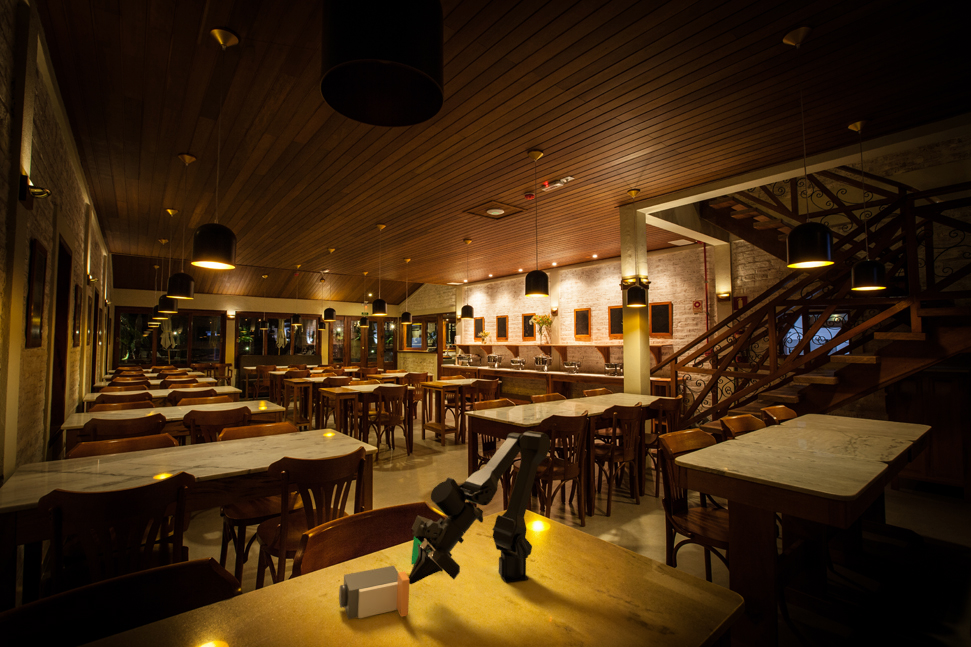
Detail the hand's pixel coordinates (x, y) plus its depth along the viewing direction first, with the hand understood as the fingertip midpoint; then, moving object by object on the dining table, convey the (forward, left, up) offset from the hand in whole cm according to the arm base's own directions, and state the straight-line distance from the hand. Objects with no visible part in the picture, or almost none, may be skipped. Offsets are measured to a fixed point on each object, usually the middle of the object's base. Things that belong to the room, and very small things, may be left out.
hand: (408, 582), depth 98 cm
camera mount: (-9, -28, -7) cm, 30 cm away
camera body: (+8, -6, -7) cm, 12 cm away
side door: (+6, 0, -6) cm, 8 cm away
